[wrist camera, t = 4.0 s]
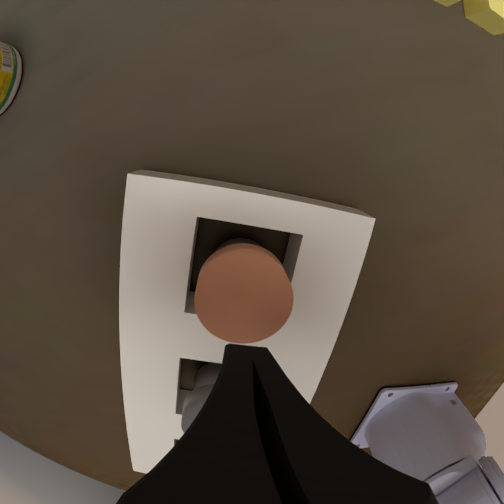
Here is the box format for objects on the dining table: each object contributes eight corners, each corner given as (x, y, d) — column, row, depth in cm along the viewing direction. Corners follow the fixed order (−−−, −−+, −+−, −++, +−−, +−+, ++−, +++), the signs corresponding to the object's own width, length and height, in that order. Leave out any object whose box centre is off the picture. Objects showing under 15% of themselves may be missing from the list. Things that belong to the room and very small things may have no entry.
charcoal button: (255, 360, 18) (261, 408, 15) (243, 403, 20) (247, 449, 16) (189, 352, 18) (183, 399, 14) (185, 396, 19) (179, 443, 15)
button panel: (356, 208, 17) (375, 218, 15) (266, 464, 24) (269, 484, 22) (141, 169, 15) (127, 173, 13) (137, 449, 23) (133, 470, 20)
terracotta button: (286, 235, 16) (304, 264, 12) (269, 304, 17) (280, 348, 13) (207, 222, 15) (201, 248, 12) (196, 294, 17) (189, 336, 13)
